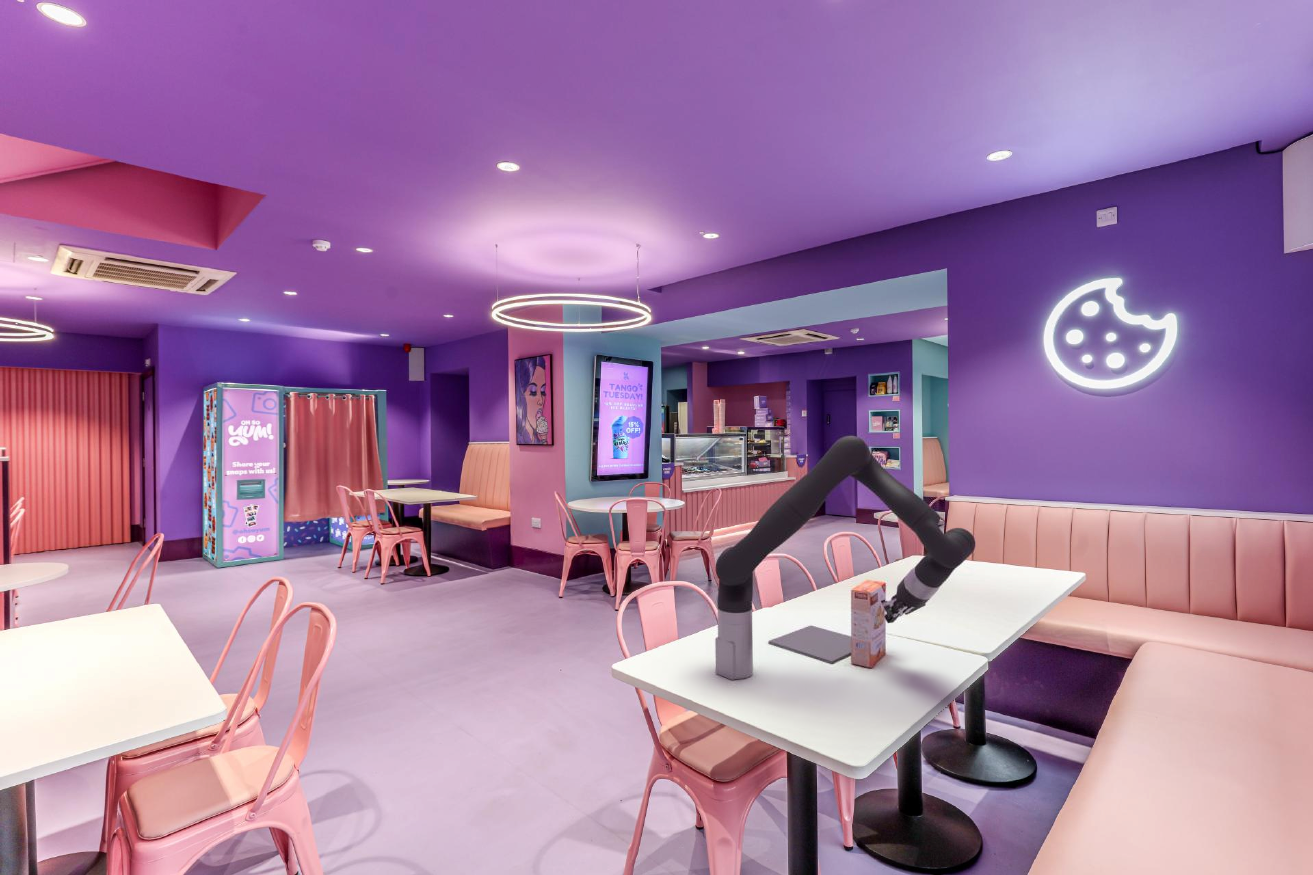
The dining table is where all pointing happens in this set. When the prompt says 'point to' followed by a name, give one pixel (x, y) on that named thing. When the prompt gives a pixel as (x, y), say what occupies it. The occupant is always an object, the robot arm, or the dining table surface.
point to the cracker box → (868, 623)
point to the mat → (816, 643)
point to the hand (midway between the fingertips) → (888, 619)
